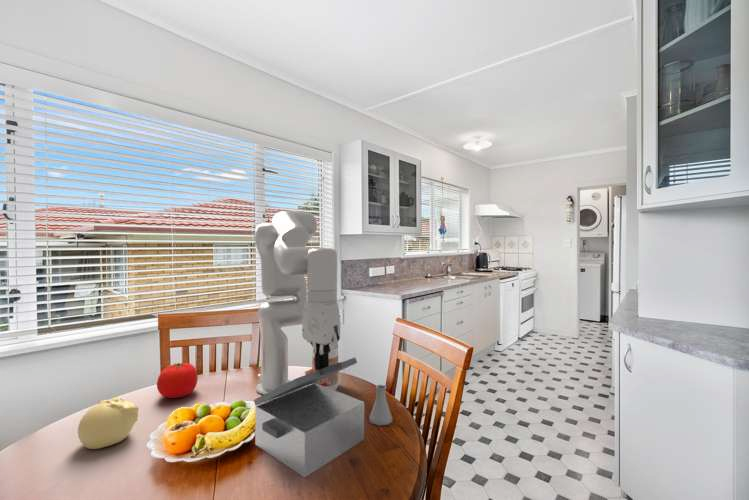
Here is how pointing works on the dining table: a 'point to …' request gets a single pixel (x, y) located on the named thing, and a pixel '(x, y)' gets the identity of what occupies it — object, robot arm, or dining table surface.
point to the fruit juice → (331, 380)
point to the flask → (380, 408)
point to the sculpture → (107, 423)
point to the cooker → (309, 427)
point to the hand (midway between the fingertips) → (321, 368)
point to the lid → (305, 380)
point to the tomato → (177, 380)
